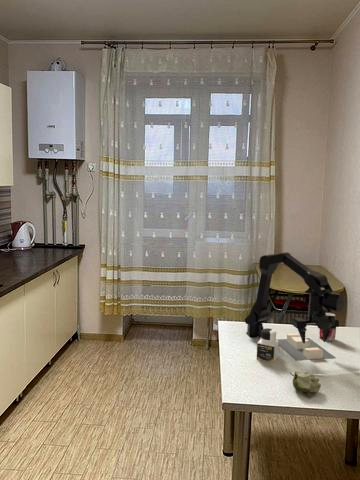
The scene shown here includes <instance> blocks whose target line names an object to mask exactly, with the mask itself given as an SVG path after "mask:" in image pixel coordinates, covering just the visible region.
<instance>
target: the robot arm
mask: <svg viewBox="0 0 360 480" xmlns="http://www.w3.org/2000/svg"><path fill="white" fill-rule="evenodd" d="M258 261H259V265H258V268H259V271H260V277H259V283H258V288H257V293H256V300H255V303H254V304H253V305H252V307H251V309H250V311H249V314H248V315H247V317H245V318H244V322H245V323H244V324H247V329H246V332H245V334H246V335H247V336H248V337H249V338H251V339H252V338H253V339H254V338H255V339H256V338H261V330H262V329H264V326H263V323H265V322H266V320H267V319H269V317H270V312H271V308H270V307H268V304H267V303H268V298H269V294H270V293H269V292H270V288H271V282H272V277H273V274H274V273H275V272H276V270H277V268H278V265H279V264H281V263H282V264H283V265H284V266H286V267H288V268H289V269H290V270H291V271H292V272H294V273H295V274H297V275H298V276H299V277H301V279H302V280H303V282H304V283H305V285H306V286H307V287H308V289H306V290H305V291H304V293H305V294H308V295H309V298H308V299H309V300H308V301H309V302H308V305H306V306H307V307H306V309H307V310H308V314H307V315H306V319H303V318H302V317H292V319H291V321H290V324H291V326H293V327H294V328H296V329H297V331H298V334H300V336H301V339H302V342H303V343H305V338H306V331H308V329H307V326H312V325H315V326H317V328H318V329H319V330H320V329H323V340H322V342H324V343H326V340H327V338H328V336H329V334H330V332H331V330H333V329H336V330H337V328H340V324H341V323H340V320H339V319H338V318H337V317H336V316H335V317H336V318H335V317H334V316H326V313H327V312H326V309H328V310H331V311H335V312H341V311H343V308H344V305H345V301H344V298H343V297H342V296H343V294H341V293H336V292H334V290H333V289H332V286H331V285H330V282H328V281H329V280H328V277H327V276H326V275H325V274H322V273H321V272H318V271H315V270H312V269H311V268H310V267H307V266H306V265H305V264H304V263H302V262H301V261H299V260H298V259H297V258H295V257H294V256H293V255H291V253H289V252H288V251H287V252H286V251H285V252H280V253H278V254H274V253H272V254H271V253H270V254H264V255H262V256H260V257H259V260H258Z"/></svg>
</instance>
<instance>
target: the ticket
mask: <svg viewBox="0 0 360 480" xmlns="http://www.w3.org/2000/svg"><path fill="white" fill-rule="evenodd" d="M306 338H307V337H305V343H303V342H302V339H301V336H300V334H299V333H287V334H286V339H287V341H288V342H289V343H290V344H291V345H292V346H294V347H295V348H296V349H303V347H310V341H308V340H307V339H306Z"/></svg>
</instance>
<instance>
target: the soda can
mask: <svg viewBox="0 0 360 480" xmlns="http://www.w3.org/2000/svg"><path fill="white" fill-rule="evenodd" d="M326 316H334V317H335V318H336V319H337V317H336V314H335V313H332V312H326ZM336 333H337V328H336V329H333V330H331V332H330V334H329V336H328V338H327V340H326V341H327V342H332V341H335V339H336ZM319 338H320V339H321V340H322V341H323V329H319Z"/></svg>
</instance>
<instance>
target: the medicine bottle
mask: <svg viewBox="0 0 360 480" xmlns="http://www.w3.org/2000/svg"><path fill="white" fill-rule="evenodd" d="M279 347H280V346H279V341H278V340H277V331H276V330H275V329H273V328H268V327H267V328H263V329H262V330H261V337H260V339H259V340H258V341H257V342H256V360H259V361H264V362H268V363H270V362H272V363H274V362H275V361H276V360H277V358H278V357H279V349H280V348H279Z"/></svg>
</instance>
